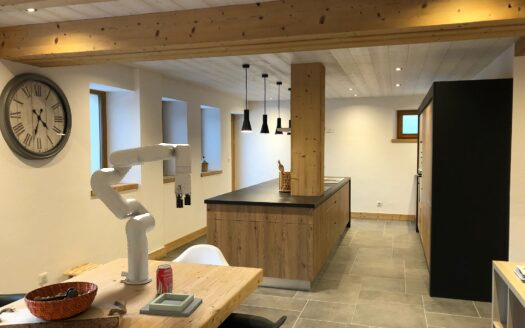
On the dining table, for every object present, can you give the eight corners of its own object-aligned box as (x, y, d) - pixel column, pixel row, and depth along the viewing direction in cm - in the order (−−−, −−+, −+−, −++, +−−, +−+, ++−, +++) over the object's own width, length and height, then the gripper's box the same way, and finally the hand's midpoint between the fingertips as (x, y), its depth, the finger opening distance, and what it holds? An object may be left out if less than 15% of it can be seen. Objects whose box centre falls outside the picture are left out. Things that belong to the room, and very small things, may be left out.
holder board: (139, 313, 160) (139, 304, 160) (157, 298, 176) (157, 291, 176) (188, 316, 156) (188, 308, 156) (202, 301, 172) (202, 293, 172)
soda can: (158, 290, 186) (157, 264, 186) (173, 290, 186) (173, 263, 186) (155, 296, 179) (154, 268, 178) (171, 295, 179) (171, 268, 179)
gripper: (182, 169, 203) (183, 204, 204) (168, 171, 186) (168, 208, 187) (197, 169, 202) (197, 204, 202) (183, 171, 185) (184, 209, 185)
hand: (183, 206), depth 195 cm, fingers open, 9 cm apart
